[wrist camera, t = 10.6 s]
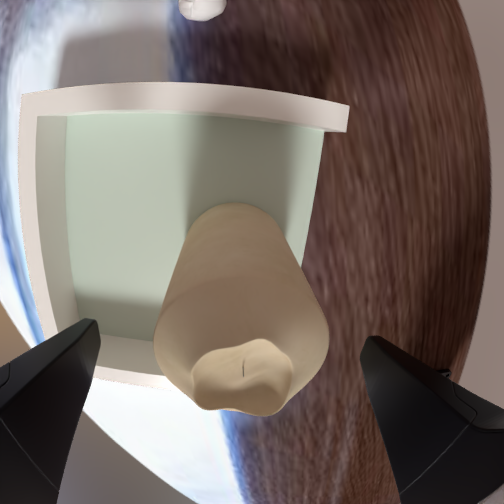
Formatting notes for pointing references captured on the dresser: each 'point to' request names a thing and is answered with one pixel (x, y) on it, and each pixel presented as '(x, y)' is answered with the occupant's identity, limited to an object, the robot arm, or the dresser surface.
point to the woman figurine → (201, 9)
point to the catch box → (151, 195)
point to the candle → (239, 315)
